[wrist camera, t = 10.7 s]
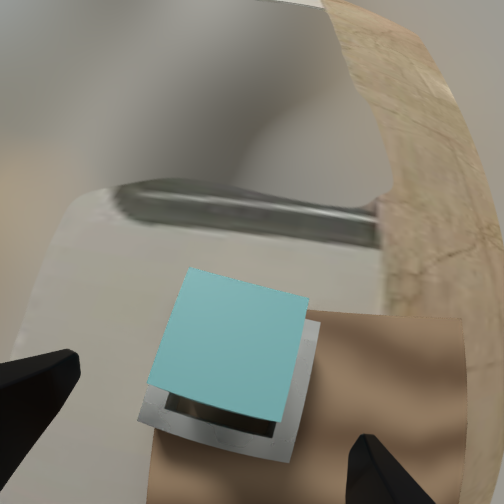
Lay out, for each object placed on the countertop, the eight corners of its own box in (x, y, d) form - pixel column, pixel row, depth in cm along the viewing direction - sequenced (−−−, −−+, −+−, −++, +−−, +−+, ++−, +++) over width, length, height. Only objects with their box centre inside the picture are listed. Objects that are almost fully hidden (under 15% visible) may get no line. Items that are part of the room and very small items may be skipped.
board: (444, 527, 12) (452, 530, 11) (147, 541, 12) (143, 546, 11) (453, 323, 22) (461, 318, 21) (180, 300, 22) (178, 294, 21)
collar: (279, 455, 16) (289, 463, 13) (153, 420, 17) (137, 420, 14) (307, 337, 20) (320, 322, 17) (190, 307, 21) (182, 287, 18)
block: (255, 418, 17) (280, 422, 8) (193, 401, 17) (146, 382, 8) (270, 360, 19) (308, 298, 10) (211, 344, 19) (189, 266, 10)
